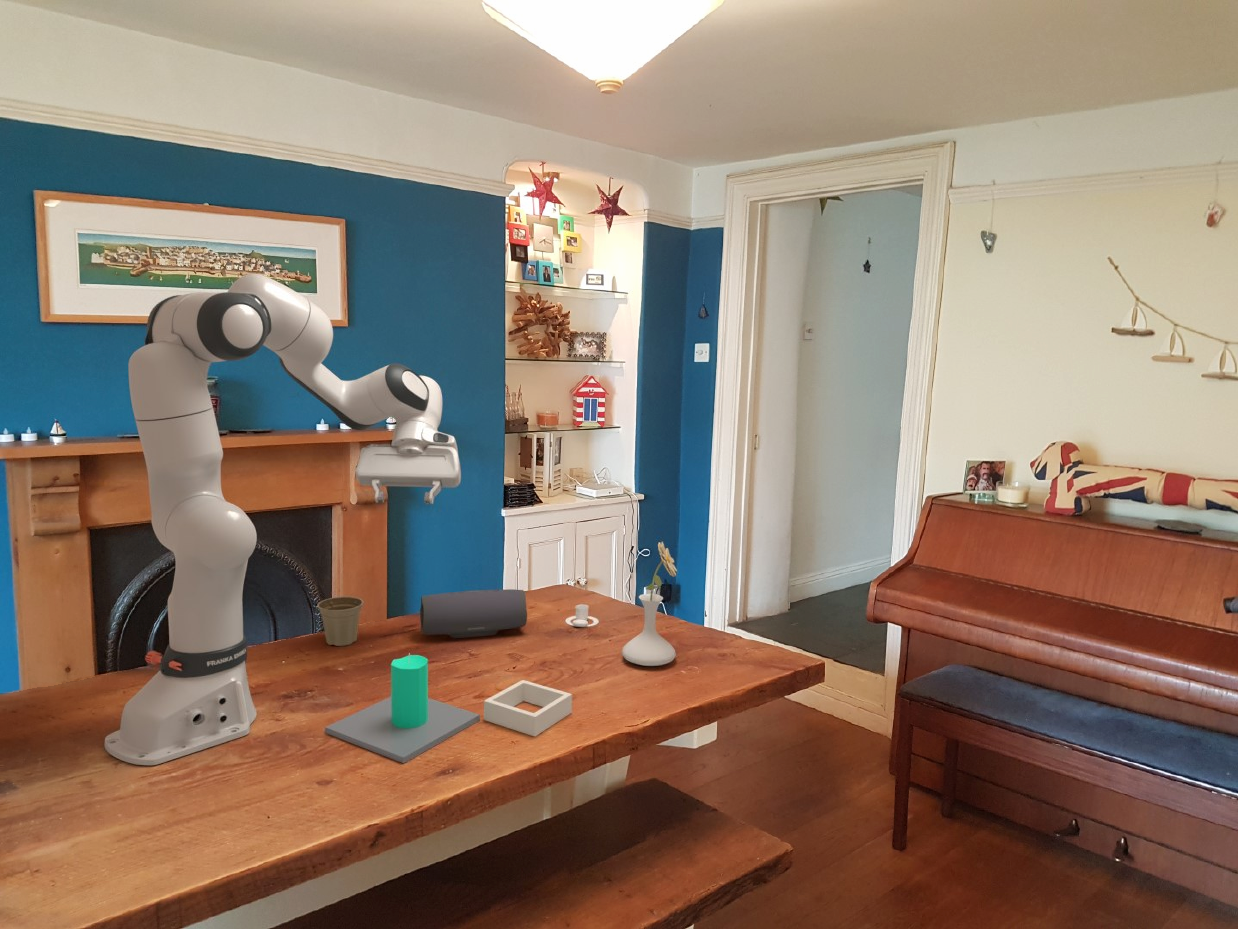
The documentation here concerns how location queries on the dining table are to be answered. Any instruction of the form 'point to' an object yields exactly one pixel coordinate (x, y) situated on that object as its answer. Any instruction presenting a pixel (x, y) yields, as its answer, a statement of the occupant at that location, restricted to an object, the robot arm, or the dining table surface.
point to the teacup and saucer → (581, 617)
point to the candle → (409, 691)
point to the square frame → (523, 721)
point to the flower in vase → (652, 625)
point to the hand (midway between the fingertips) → (403, 501)
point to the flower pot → (340, 619)
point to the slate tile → (401, 729)
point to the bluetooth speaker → (473, 612)
